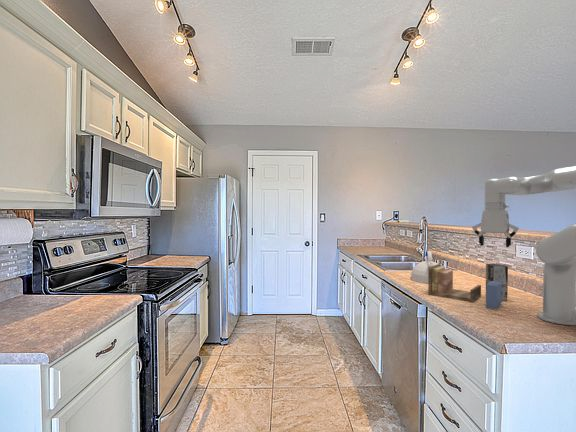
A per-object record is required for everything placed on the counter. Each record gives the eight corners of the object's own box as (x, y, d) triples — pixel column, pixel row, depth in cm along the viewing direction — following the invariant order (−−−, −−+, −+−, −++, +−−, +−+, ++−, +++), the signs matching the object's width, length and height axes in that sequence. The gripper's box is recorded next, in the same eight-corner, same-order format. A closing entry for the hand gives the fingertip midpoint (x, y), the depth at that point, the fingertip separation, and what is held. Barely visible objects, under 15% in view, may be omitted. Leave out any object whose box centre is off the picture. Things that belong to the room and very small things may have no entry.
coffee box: (508, 301, 149) (508, 266, 148) (492, 300, 150) (493, 265, 150) (499, 296, 158) (499, 263, 157) (485, 295, 159) (485, 262, 159)
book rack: (480, 296, 156) (481, 268, 156) (473, 302, 146) (473, 272, 146) (437, 289, 170) (438, 264, 170) (428, 294, 160) (428, 267, 160)
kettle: (411, 283, 186) (412, 251, 186) (409, 276, 206) (409, 248, 206) (450, 285, 180) (450, 253, 180) (444, 278, 200) (444, 249, 200)
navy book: (501, 304, 143) (501, 282, 143) (496, 309, 136) (496, 286, 136) (491, 302, 146) (491, 281, 146) (485, 307, 138) (486, 284, 138)
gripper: (520, 207, 137) (520, 247, 137) (474, 207, 149) (474, 244, 149) (517, 206, 132) (516, 248, 132) (470, 207, 144) (470, 245, 144)
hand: (494, 246), depth 141 cm, fingers open, 9 cm apart
